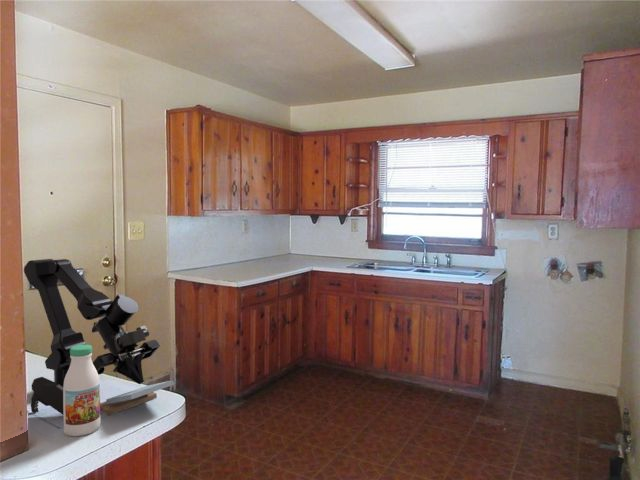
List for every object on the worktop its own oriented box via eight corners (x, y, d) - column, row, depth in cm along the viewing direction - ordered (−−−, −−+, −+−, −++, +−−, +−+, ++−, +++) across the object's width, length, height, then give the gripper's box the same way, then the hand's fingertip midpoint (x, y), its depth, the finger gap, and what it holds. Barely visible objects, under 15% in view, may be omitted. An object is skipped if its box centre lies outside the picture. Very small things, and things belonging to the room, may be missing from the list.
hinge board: (96, 409, 118) (95, 404, 118) (144, 392, 129) (144, 388, 129) (108, 415, 114) (108, 410, 114) (156, 397, 126) (156, 393, 126)
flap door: (104, 399, 117) (130, 394, 110) (146, 385, 127) (173, 380, 119) (106, 405, 117) (132, 400, 109) (147, 391, 126) (174, 386, 119)
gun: (69, 441, 112) (84, 408, 111) (19, 406, 115) (34, 374, 113) (77, 435, 115) (92, 403, 114) (28, 402, 117) (43, 370, 116)
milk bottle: (56, 433, 105) (54, 349, 103) (83, 419, 112) (82, 340, 111) (81, 440, 102) (79, 353, 101) (107, 425, 109) (106, 344, 108)
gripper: (96, 325, 112) (126, 377, 108) (155, 311, 129) (183, 356, 124) (76, 350, 117) (104, 401, 112) (136, 334, 133) (163, 378, 129)
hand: (141, 383), depth 119 cm, fingers closed
